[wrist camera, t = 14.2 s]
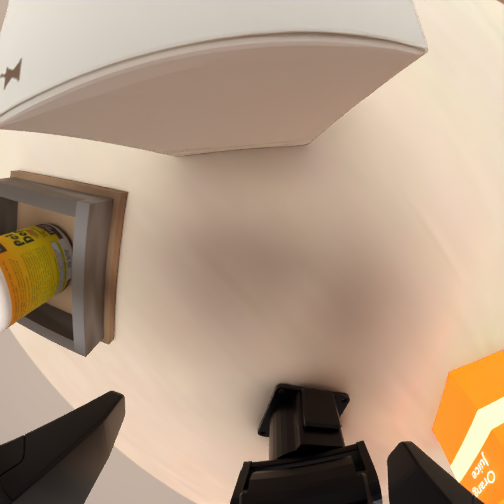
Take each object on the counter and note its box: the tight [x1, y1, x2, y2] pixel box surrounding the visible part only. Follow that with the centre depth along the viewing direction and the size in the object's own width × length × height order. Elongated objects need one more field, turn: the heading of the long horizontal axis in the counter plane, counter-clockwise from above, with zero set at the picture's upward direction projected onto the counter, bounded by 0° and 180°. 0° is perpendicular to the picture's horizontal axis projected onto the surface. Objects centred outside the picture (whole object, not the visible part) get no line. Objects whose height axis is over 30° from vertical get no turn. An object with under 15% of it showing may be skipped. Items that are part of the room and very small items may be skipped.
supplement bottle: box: [0, 224, 73, 332], centre depth 14 cm, size 6×6×10 cm
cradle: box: [0, 170, 128, 357], centre depth 18 cm, size 12×12×4 cm
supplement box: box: [0, 0, 428, 156], centre depth 10 cm, size 9×9×15 cm
